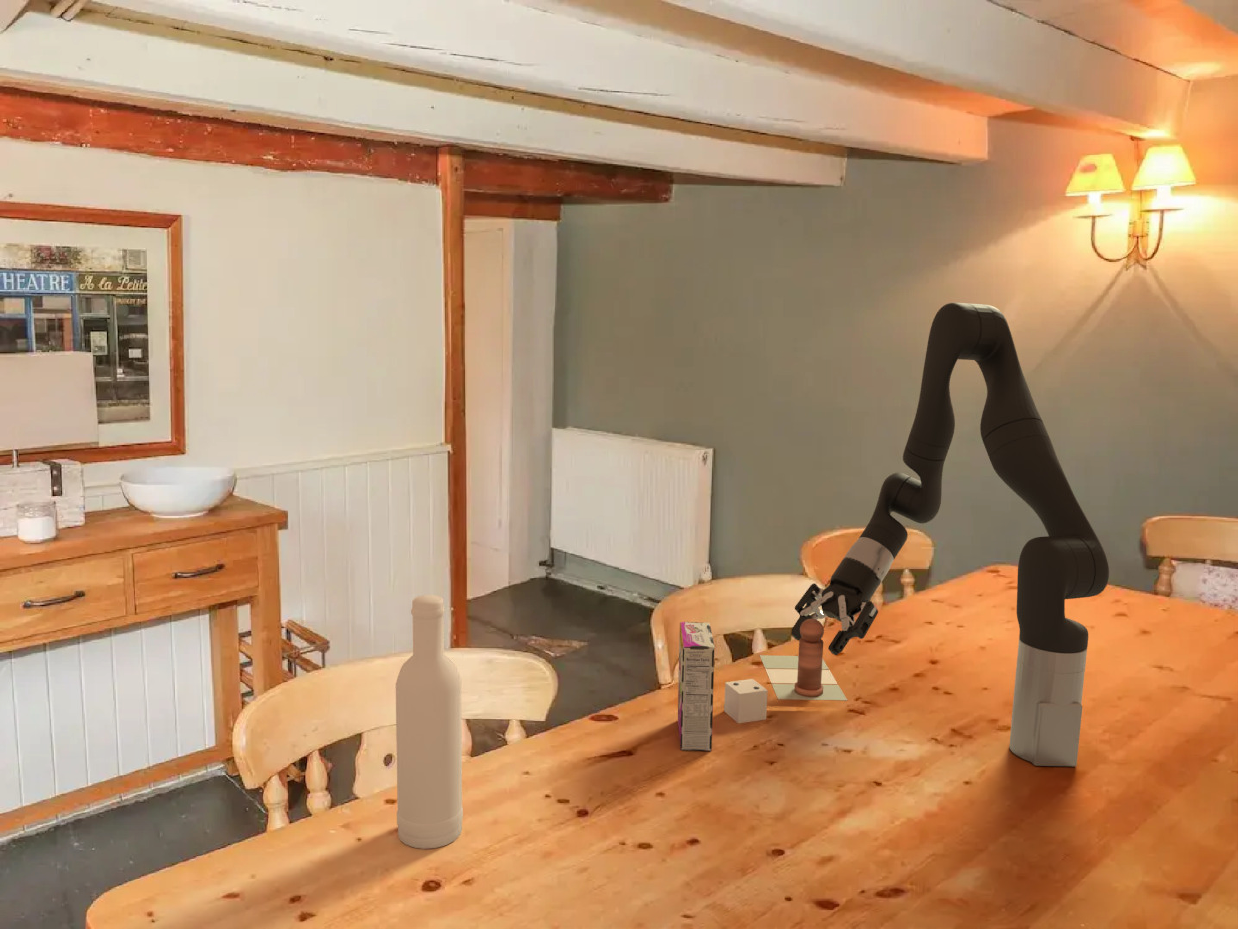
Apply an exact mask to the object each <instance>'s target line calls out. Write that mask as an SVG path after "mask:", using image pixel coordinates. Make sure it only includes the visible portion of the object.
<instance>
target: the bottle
mask: <svg viewBox="0 0 1238 929" xmlns="http://www.w3.org/2000/svg"><path fill="white" fill-rule="evenodd" d="M411 605H412V607H411V609H410V613H411V614H410V615H411V616H412V655H411V656H410V657H409V658H408V659H407V660H406V661H405V662H404V663H403V664H402V666H401V667H400V669H399V672H398V675H397V678H396V682H395V729H396V730H395V731H396V733H395V735H396V786H397V787H396V788H397V793H396V794H397V797H396V798H397V802H396V803H397V804H396V805H397V811H396V825H397V835H398V838H399V840H400V841H401V842H402V843H403V844H404V845H406V846H409V847H411V848H414V849H421V850H428V849H437V848H441V847H444V846H445V847H446V846H448V845H449V844H452V843H453V842H454V841H456V840H457V839H458V838H459V837H460V836H461V834H462V831H463V818H464V808H463V773H462V772H463V771H462V770H463V765H462V764H463V762H462V761H463V760H462V759H463V757H462V756H463V755H462V754H463V753H462V751H463V749H462V748H463V747H462V744H463V742H462V740H463V739H462V738H463V736H462V733H463V732H462V730H463V729H462V727H463V726H462V724H463V722H462V718H463V717H462V678H461V676H460V672H459V671H458V667H457V666H456V663H455V662H454V661H453V660H452V659H451V658H450V657H448V656H447V655H446V654H445V652H444V649H445V648H444V642H445V641H444V637H445V636H444V614H445V611H446V610H445V607H444V599H443V598H442V597H441V596H439V595H436V594H433V595H432V594H424V595H419V596H417V597H414V599H412V603H411Z"/></svg>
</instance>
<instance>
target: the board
mask: <svg viewBox="0 0 1238 929" xmlns="http://www.w3.org/2000/svg"><path fill="white" fill-rule="evenodd" d="M798 656H799V655H766V654H765V655H761V654H760V655H759V657H760V660H761V663H762V666H763V667H764V669H765V671H766V675H767V678H769V681H770V684H771V686H772V688H773V691H774V693H775V695H776V697H777V700H798V701H799V700H801V701H802V700H803V701H805V700H807V701H848V699H847V696H845V693H844V692H843V690H842V689H841V687H840V686H839V684H838V682H837V681H836V678H835V676H834V675H833V674H832V672H831V670H830V668H829V667H828V665H827V664H826V662H825V660H824V658H823V659H822V677H821V685H823V694H822V695H821V696H818V697H805V696H801V695H799V694H797V693H795V691H794V688H795V683H796V682H797V676H798Z"/></svg>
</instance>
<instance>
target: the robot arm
mask: <svg viewBox="0 0 1238 929" xmlns="http://www.w3.org/2000/svg"><path fill="white" fill-rule="evenodd" d="M930 327H931V328H930V329H929V330H930V331H929V333H928V334H929V335H928V340H927V345H926V346H927V347H926V351H925V359H924V364H923V369H922V377H921V383H920V384H921V385H920V392H919V397H918V398H919V399H918V403H917V408H916V413H915V417H914V420H913V423H912V426H911V429H910V432H909V434H908V437H907V440H906V444H905V447H904V450H903V453H902V461H903V463H904V464H905V465H906V466H907V467H908V468H910V470H912V471H913V472H914V473H915V474H916V475H918V477H919V479H918V478H915V477H912V476H910V475H908V474H906V473H903V472H895V473H892V474H890V475H888V476H887V477H886V478H885V479H884V481H883V483H882V485H881V488H880V492H879V495H878V500H877V502H876V506H875V508H874V511H873V514H872V516H871V518H870V520H869V522H868V524H867V525H866V526H865V528H864V530H863V531H862V533H861V534H860V536H858V538H857V540H856V541H855V542H854V543H853V545H852V546H851V547H849V549H848V551H847V552H846V554H845V555H844V557H843V558H842V560H841V561H840V562H839V564H838V566H837V567H836V569H835V571H834V572H833V573H832V575H831V576H830V582H829V585H828V586H827V587H826V588H821V587H819V586H818V585H817V583H814V582H813V583H812V584H811V585H809V587H808V588H807V590H806V591H805V592H804V593H803V596H802V597H800V599H799V600H798V602H797V603H796V604H795V605H794V610H795V611H796V612H797V613H798V615H799V617H798V619H797V620H796V621H795V624H793V627H792V628H791V631H790V634H791V636H792V638H794V640H796V641H798V642H799V639H800V638H802V636H801V634H800V626H801V624H802V623H803V622H804V621H805V620H807V619H816V620H822V619H825V618H826V617H827V618H830V619H836V620H837V621H839V622H840V623H841V630H838V631H837V633H836V634H835V636H834V637H833V639H832V640H831V642H830V643H829V645H828V647H827V648H828V651H829V652H830V653H831V655H834V656H838V655H839V654H841V653H842V652H843V650H844V649H845V648H846V646H847V644H848V643H849V641H850V640H851V639H854V638H859V639H860V640H863V639H864V638H865V636H866V635H867V634H868V631H869V630H870V628H871V626H872V624H873V622H874V621H875V619H876V617H877V616H878V614H879V610H878V608H877V607H876V605H875V604H874V603H873V602H872V601H870V600H871V599H872V597H873V596H874V594H875V593H876V591H877V589H878V588H879V586H880V585H881V583H882V582H883V580H884V579H885V577H886V576H887V574H888V573H889V571H890V569H891V567H892V565H893V562H894V560H895V559H896V558H897V556H898V554H899V553H900V551H901V550H902V548H903V546H904V545H905V543H906V542H907V539H908V535H909V534H908V531H907V529H906V527H905V526H904V525H903V524H902V523H901V522H900V521H898V520H897V519H896V518H895V517H893V515H892V512H893V513H895V514H898V515H900V516H902V517H904V518H906V519H908V520H910V521H913V522H915V523H918V524H922V525H923V524H927V523H929V522H931V521H933V520H934V518H935V517H936V516H937V515H938V513H939V511H940V508H941V504H942V493H943V492H942V489H943V488H942V487H943V486H942V484H943V483H942V482H943V481H942V480H943V473H944V471H943V470H944V464H945V461H946V458H947V455H948V452H949V450H950V447H951V444H952V441H953V438H954V434H955V429H956V428H955V427H956V425H955V424H956V418H955V413H954V412H955V411H954V408H953V402H952V399H951V392H950V390H951V389H950V383H951V376H952V373H953V371H954V368H955V366H956V364H957V361H958V360H964V361H965V360H967V361H974V362H976V364H977V365H978V367H979V369H980V371H981V373H982V376H983V380H984V382H985V386H986V392H987V393H986V399H985V403H984V407H983V410H982V415H981V419H980V427H979V428H980V430H979V431H980V437H981V440H982V443H983V445H984V448H985V451H986V453H987V456H988V459H989V461H990V464H991V466H992V468H993V470H994V472H995V473H996V475H997V476H998V477H999V478H1000V479H1001V481H1002V482H1003V483H1004V484H1006V485H1007V487H1009V489H1011V490H1012V492H1014V493H1015V494H1016V495H1017V496H1018V497H1019V498H1020V499H1021V500H1022V501H1024V503H1026V504H1027V505H1028V506H1029V507H1030V508H1031V509H1032V510H1033V511H1034V512H1035V514H1036V515H1037V517H1038V518H1039V520H1040V521H1041V523H1042V525H1043V526H1044V528H1045V531H1046V533H1047V534H1048V536H1038V537H1034V538H1031V539H1030V540H1028V541H1026V543H1025V544H1024V546H1023V547H1022V549H1021V551H1020V555H1019V559H1018V566H1017V581H1016V586H1017V587H1016V617H1017V618H1016V620H1017V624H1018V627H1019V628H1018V629H1019V635H1018V646H1017V658H1016V667H1015V680H1014V688H1013V689H1014V690H1013V701H1012V708H1011V709H1012V711H1011V712H1012V713H1011V724H1010V725H1011V726H1010V735H1009V736H1010V737H1009V749H1010V751H1011V752H1012V753H1013V754H1014V755H1015V756H1017V757H1019V758H1021V759H1022V760H1024V761H1027V762H1030V763H1032V765H1034V766H1036V767H1037V766H1038V767H1040V766H1041V767H1043V766H1044V767H1077V763H1078V754H1079V743H1080V737H1081V736H1080V735H1081V725H1082V714H1083V705H1082V701H1083V691H1084V681H1085V672H1086V665H1087V652H1088V647H1089V646H1088V645H1089V631H1088V629H1087V627H1086V626H1085V625H1084V624H1081V623H1080V622H1079V621H1075V620H1073V619H1070V618H1069V617H1066V613H1065V611H1066V608H1065V602H1066V600H1074V599H1075V600H1076V599H1082V598H1091V597H1095V596H1098V595H1100V594H1101V593H1102V592H1104V591H1105V589H1106V588H1107V585H1108V582H1109V580H1110V579H1109V578H1110V577H1109V576H1110V567H1109V562H1108V559H1107V555H1106V553H1105V551H1104V550H1105V549H1104V547H1103V546H1102V543H1101V541H1100V539H1099V538H1098V536H1097V534H1096V532H1095V530H1094V528H1093V526H1092V525H1091V523H1090V521H1089V520H1088V517H1087V516H1086V514H1085V512H1084V511H1083V509H1082V507H1081V505H1080V504H1079V502H1078V500H1077V498H1076V496H1075V494H1074V492H1073V489H1072V488H1071V485H1070V483H1069V480H1068V479H1067V477H1066V474H1065V472H1064V470H1063V468H1062V466H1061V463H1060V460H1059V459H1058V456H1057V453H1056V451H1055V448H1054V446H1053V443H1052V440H1051V438H1050V435H1049V433H1048V431H1047V428H1046V425H1045V423H1044V421H1043V419H1042V417H1041V415H1040V412H1039V411H1038V409H1037V406H1036V404H1035V401H1034V399H1033V396H1032V393H1031V390H1030V388H1029V386H1028V383H1027V380H1026V378H1025V376H1024V373H1023V370H1022V367H1021V364H1020V361H1019V357H1018V353H1017V350H1016V346H1015V342H1014V338H1013V335H1012V332H1011V329H1010V326H1009V323H1008V321H1007V319H1006V317H1005V315H1004V314H1003V312H1002V311H1001V310H1000V309H999V308H997V307H995V306H993V305H990V304H981V303H970V302H969V303H968V302H949V303H946V304H944V305H943V306H941V308H939V310H937V312H936V314H935V316H934V318H933V320H932V323H931V326H930ZM820 608H821V609H820ZM857 614H859V615H858V617H857V618H856V619H855V616H856V615H857Z"/></svg>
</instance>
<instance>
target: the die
mask: <svg viewBox="0 0 1238 929" xmlns="http://www.w3.org/2000/svg"><path fill="white" fill-rule="evenodd" d="M768 692H769V690H768V689H766V688H765V687H764V686H763V685H762V684H760V683H759V682H757V681H756V680H755V679H753V678H749V679H741V680H733V681H726V682H725V683H724V703H723V705H724V706H723V712H725V713H726V714H727V715H728V716H729V717H730V718H731V719H732V720H733V721H735V722H736V723H737V724H743V723H749V722H750V723H751V722H758V721H765V720H767V711H768V710H767V709H768V708H767V706H768Z"/></svg>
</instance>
